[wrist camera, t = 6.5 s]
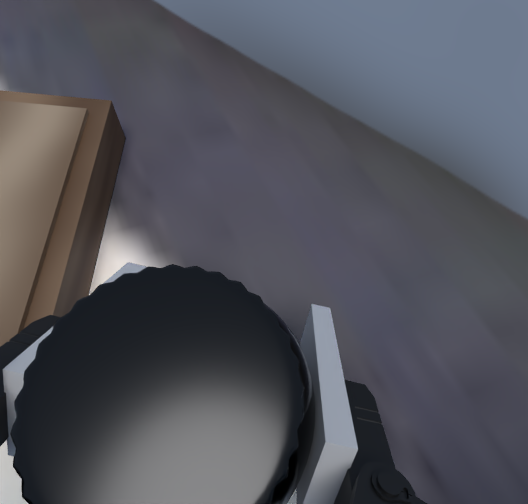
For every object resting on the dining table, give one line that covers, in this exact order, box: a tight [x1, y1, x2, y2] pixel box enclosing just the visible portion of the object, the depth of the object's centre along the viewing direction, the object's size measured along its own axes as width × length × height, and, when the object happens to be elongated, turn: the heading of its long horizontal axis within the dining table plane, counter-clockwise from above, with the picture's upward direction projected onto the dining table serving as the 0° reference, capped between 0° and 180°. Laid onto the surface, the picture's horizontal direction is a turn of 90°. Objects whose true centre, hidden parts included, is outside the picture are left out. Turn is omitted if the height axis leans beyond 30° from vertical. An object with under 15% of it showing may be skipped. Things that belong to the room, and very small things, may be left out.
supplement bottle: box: [10, 264, 315, 504], centre depth 11 cm, size 7×7×12 cm
